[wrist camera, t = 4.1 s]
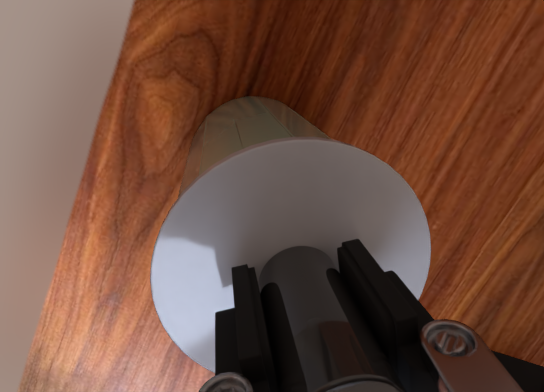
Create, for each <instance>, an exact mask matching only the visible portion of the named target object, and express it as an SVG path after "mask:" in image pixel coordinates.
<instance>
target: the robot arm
mask: <svg viewBox="0 0 544 392" xmlns="http://www.w3.org/2000/svg"><path fill="white" fill-rule="evenodd" d="M337 255H338V263H339V272H340V275H341V276H342V278H343V280H344V282H345V284H346V285H347V287H348V289H349V291H350V292H351V294H352V296H353V298H354V299H355V301H356V303H357V305H358V306H359V308H360V310H361V312H362V313H363V315H364V317H365V319H366V321H367V322H368V324H369V326H370V328H371V329H372V331H373V333H374V335H375V336H376V338H377V340H378V342H379V343H380V345H381V347H382V349H383V350H384V352H385V354H386V356H387V358H388V359H389V361H390V363H391V365H392V366H393V368H394V370H395V372H396V373H397V375H398V377H399V379H400V380H401V382H402V384H403V386H404V387H405V389H406V391H407V392H544V367H543V366H539V365H536V364H533V363H530V362H527V361H524V360H520V359H517V358H514V357H511V356H508V355H504V354H501V353H498V352H495V351H492V350H490V349H489V347H488V346H487V345H486V344H485V342H484V341H483V340H482V339H481V337H480V336H479V335H478V334H477V333H476V332H475V331H474V330H473V329H472V328H470V327H469V326H467V325H465V324H463V323H461V322H458V321H455V320H448V319H440V320H434V319H433V318H432V317H431V315H430V314H429V313H428V312H427V311H426V309H425V308H424V307H423V306H422V304H421V303H420V302H419V301H418V300H417V298H416V297H415V296H414V295H413V293H412V292H411V291H410V290H409V289H408V287H407V286H406V285H405V284H404V282H403V281H402V280H401V279H400V278H399V276H398V275H397V274H396V273H395V272H394V271H392V270H391V271H386V272H384V271H383V270H382V268H381V267H380V266H379V264H378V263H377V262H376V260H375V259H374V258H373V257H372V255H371V254H370V253H369V251H368V250H367V249H366V248H365V246H364V245H363V244H362V242H361V241H360V240H359V239H354V240H349V241H345V242H342V247H338V248H337ZM231 270H232V283H233V296H234V308H230V309H226V310H222V311H218V312H216V313H215V376H214V377H212V378H211V379H210V380H208V381H207V382H206V383H205V384H204V385H203V386H202V387H201V389H200V390H199V392H279V388H278V383H277V378H276V373H275V368H274V362H273V357H272V352H271V347H270V341H269V336H268V331H267V326H266V320H265V315H264V310H263V305H262V299H261V294H260V290H259V285H258V281H257V276H256V272H255V268H254V267H251V268H248V265H247V264H245V265H240V266H236V267H232V268H231Z"/></svg>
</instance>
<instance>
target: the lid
mask: <svg viewBox="0 0 544 392" xmlns="http://www.w3.org/2000/svg"><path fill="white" fill-rule="evenodd" d="M354 239H359V240H360V241H361V242H362V244H363V245H364V246H365V248H366V249H367V250H368V251H369V253H370V254H371V255H372V257H373V258H374V259H375V260H376V262H377V263H378V264H379V266H380V267H381V268H382V270H383V271H384V272H386V271H391V270H392V271H394V272H395V273H396V274H397V275H398V276H399V278H400V279H401V280H402V281H403V282H404V284H405V285H406V286H407V287H408V289H409V290H410V291H411V292H412V293H413V295H414V296H415V297H416V298H417V300H418V299H419V297H420V295H421V293H422V291H423V288H424V285H425V282H426V279H427V275H428V270H429V265H430V255H431V242H430V232H429V227H428V223H427V219H426V216H425V213H424V211H423V208H422V206H421V203H420V201H419V200H418V198H417V196H416V195H415V193H414V191H413V190H412V188H411V187H410V186H409V185H408V183H407V182H406V181H405V180H404V179H403V177H402V176H401V175H400V174H399V173H397V172H396V171H395V170H394V169H393V168H392V167H390V166H389V165H388V164H387V163H385V162H384V161H382V160H380V159H379V158H377V157H376V156H374V155H372V154H371V153H369V152H367V151H365V150H363V149H361V148H358V147H356V146H354V145H351V144H348V143H344V142H341V141H337V140H333V139H326V138H319V137H288V138H281V139H274V140H269V141H266V142H262V143H258V144H255V145H251V146H249V147H246V148H244V149H242V150H239V151H237V152H234V153H232V154H230V155H229V156H227V157H225V158H223V159H222V160H220V161H218V162H216V163H215V164H213V165H212V166H211V167H209V168H208V169H207V170H205V171H204V172H203V173H202V174H200V175H199V176H198V177H197V178H196V179H195V180H194V181H193V182H192V183H191V184H190V185H189V186H188V187H187V188H186V189H185V190H184V191H183V192H182V193H181V195H180V196H179V197H178V199H177V200H176V201H175V203H174V204H173V205H172V207H171V208H170V210H169V212H168V214H167V216H166V218H165V219H164V221H163V223H162V226H161V228H160V231H159V234H158V236H157V239H156V242H155V246H154V250H153V255H152V260H151V273H150V283H151V292H152V298H153V302H154V305H155V309H156V312H157V314H158V316H159V319H160V321H161V323H162V325H163V327H164V329H165V330H166V332H167V333H168V335H169V336H170V338H171V339H172V340H173V342H174V343H175V344H176V345H177V346H178V347H179V348H180V349H181V350H182V351H183V352H184V353H185V354H186V355H187V356H189V357H190V358H191V359H192V360H193V361H195V362H196V363H198V364H200V365H201V366H203V367H204V368H206V369H208V370H210V371H212V372H214V373H215V313H216V312H218V311H222V310H226V309H230V308H234V296H233V283H232V270H231V268H232V267H236V266H240V265H245V264H247V265H248V268H251V267H254V268H255V272H256V276H257V281H258V285H259V290H260V294H261V299H262V305H263V310H264V315H265V320H266V326H267V331H268V336H269V341H270V347H271V352H272V357H273V362H274V368H275V373H276V378H277V383H278V388H279V392H407V391H406V389H405V387H404V386H403V384H402V382H401V380H400V379H399V377H398V375H397V373H396V372H395V370H394V368H393V366H392V365H391V363H390V361H389V359H388V358H387V356H386V354H385V352H384V350H383V349H382V347H381V345H380V343H379V342H378V340H377V338H376V336H375V335H374V333H373V331H372V329H371V328H370V326H369V324H368V322H367V321H366V319H365V317H364V315H363V313H362V312H361V310H360V308H359V306H358V305H357V303H356V301H355V299H354V298H353V296H352V294H351V292H350V291H349V289H348V287H347V285H346V284H345V282H344V280H343V278H342V276H341V275H340V272H339V263H338V255H337V248H338V247H342V242H345V241H349V240H354Z"/></svg>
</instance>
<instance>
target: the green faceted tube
mask: <svg viewBox="0 0 544 392" xmlns="http://www.w3.org/2000/svg"><path fill="white" fill-rule="evenodd" d="M288 137H319V138H326V139H332V138H331V137H329V136H328V135H326V134H325V133H324V132H322V131H321V130H320V129H318V128H317V127H316V126H314V125H313V124H311V123H310V122H309V121H307V120H306V119H305V118H303V117H302V116H301V115H299V114H298V113H296V112H295V111H294V110H292V109H291V108H289V107H288V106H287V105H285V104H284V103H282V102H280V101H277V100H273V99H270V98H265V97H258V96H252V97H243V98H238V99H235V100H232V101H228V102H227V103H225V104H223V105H221V106H220V107H218V108H217V109H215V110H214V111H213V112H211V113H210V114H209V115H208V116H207V117H206V118H205V120H204V121H203V122H202V124H201V125H200V127H199V129H198V130H197V132H196V134H195V135H194V137H193V140H192V144H191V147H190V151H189V155H188V159H187V163H186V167H185V171H184V175H183V179H182V183H181V187H180V191H179V195H178V197H179V196H180V195H181V193H182V192H183V191H184V190H185V189H186V188H187V187H188V186H189V185H190V184H191V183H192V182H193V181H194V180H195V179H196V178H197V177H198V176H199V175H200V174H202V173H203V172H204V171H205V170H207V169H208V168H209V167H211V166H212V165H213V164H215V163H216V162H218V161H220V160H222V159H223V158H225V157H227V156H229V155H230V154H232V153H234V152H237V151H239V150H242V149H244V148H246V147H249V146H251V145H255V144H258V143H262V142H266V141H269V140H274V139H281V138H288Z"/></svg>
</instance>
